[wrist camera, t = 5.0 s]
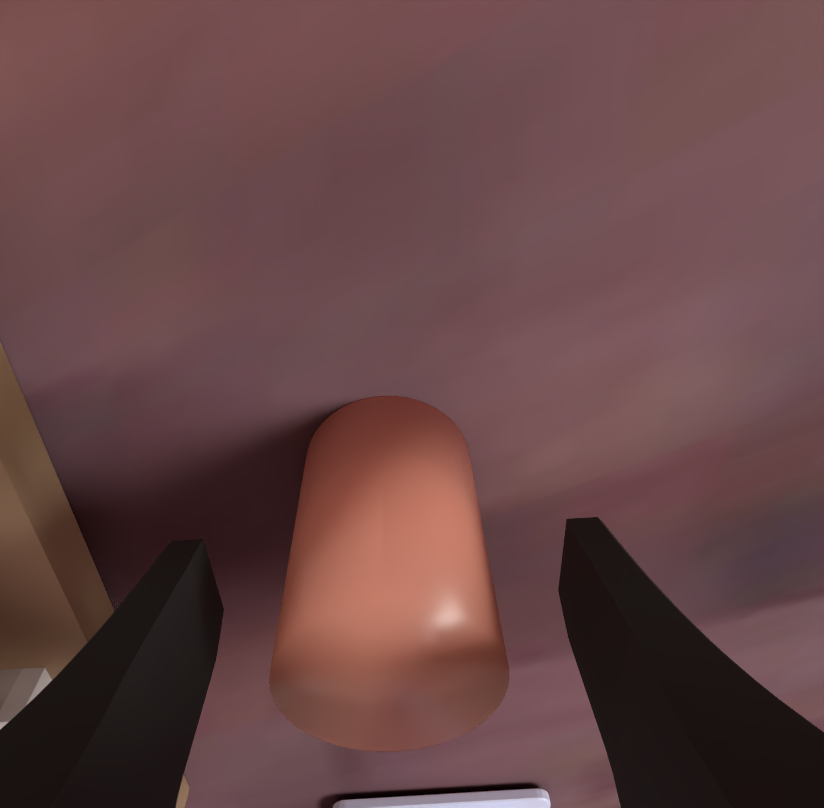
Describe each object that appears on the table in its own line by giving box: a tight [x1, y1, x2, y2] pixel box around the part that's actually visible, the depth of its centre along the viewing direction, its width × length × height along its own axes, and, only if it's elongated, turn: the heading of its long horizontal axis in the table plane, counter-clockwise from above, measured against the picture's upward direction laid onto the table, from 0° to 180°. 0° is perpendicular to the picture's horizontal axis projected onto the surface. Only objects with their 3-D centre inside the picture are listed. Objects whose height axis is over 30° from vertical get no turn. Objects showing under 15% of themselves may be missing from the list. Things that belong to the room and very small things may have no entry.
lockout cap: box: [269, 396, 509, 752], centre depth 13 cm, size 4×4×6 cm
